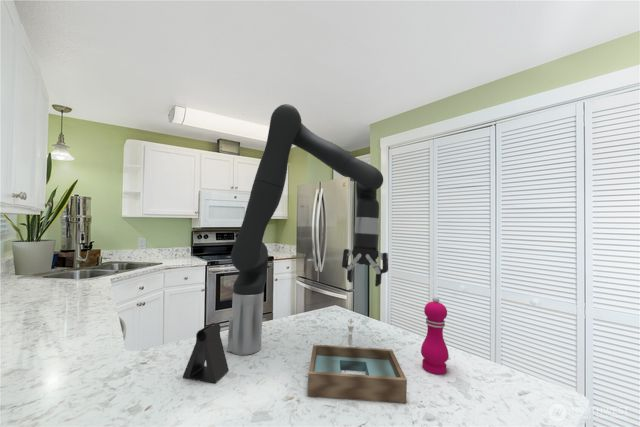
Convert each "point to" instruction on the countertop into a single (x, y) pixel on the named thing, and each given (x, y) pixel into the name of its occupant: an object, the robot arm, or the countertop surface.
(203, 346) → the phone stand
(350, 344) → the chess piece
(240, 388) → the countertop surface
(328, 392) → the box
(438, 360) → the pepper mill
